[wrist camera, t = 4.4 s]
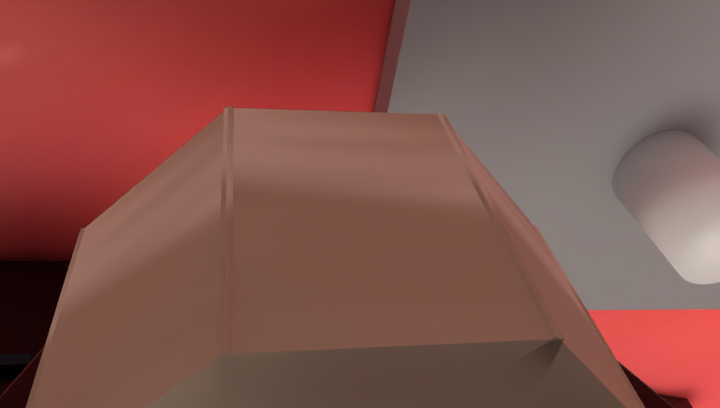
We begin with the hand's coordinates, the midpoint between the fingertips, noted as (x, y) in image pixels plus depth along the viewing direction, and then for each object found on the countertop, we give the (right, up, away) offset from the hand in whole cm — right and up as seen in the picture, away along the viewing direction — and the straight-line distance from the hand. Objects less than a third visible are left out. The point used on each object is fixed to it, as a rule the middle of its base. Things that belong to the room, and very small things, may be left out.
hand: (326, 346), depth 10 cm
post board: (+11, +4, +13) cm, 17 cm away
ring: (0, +1, +1) cm, 1 cm away
